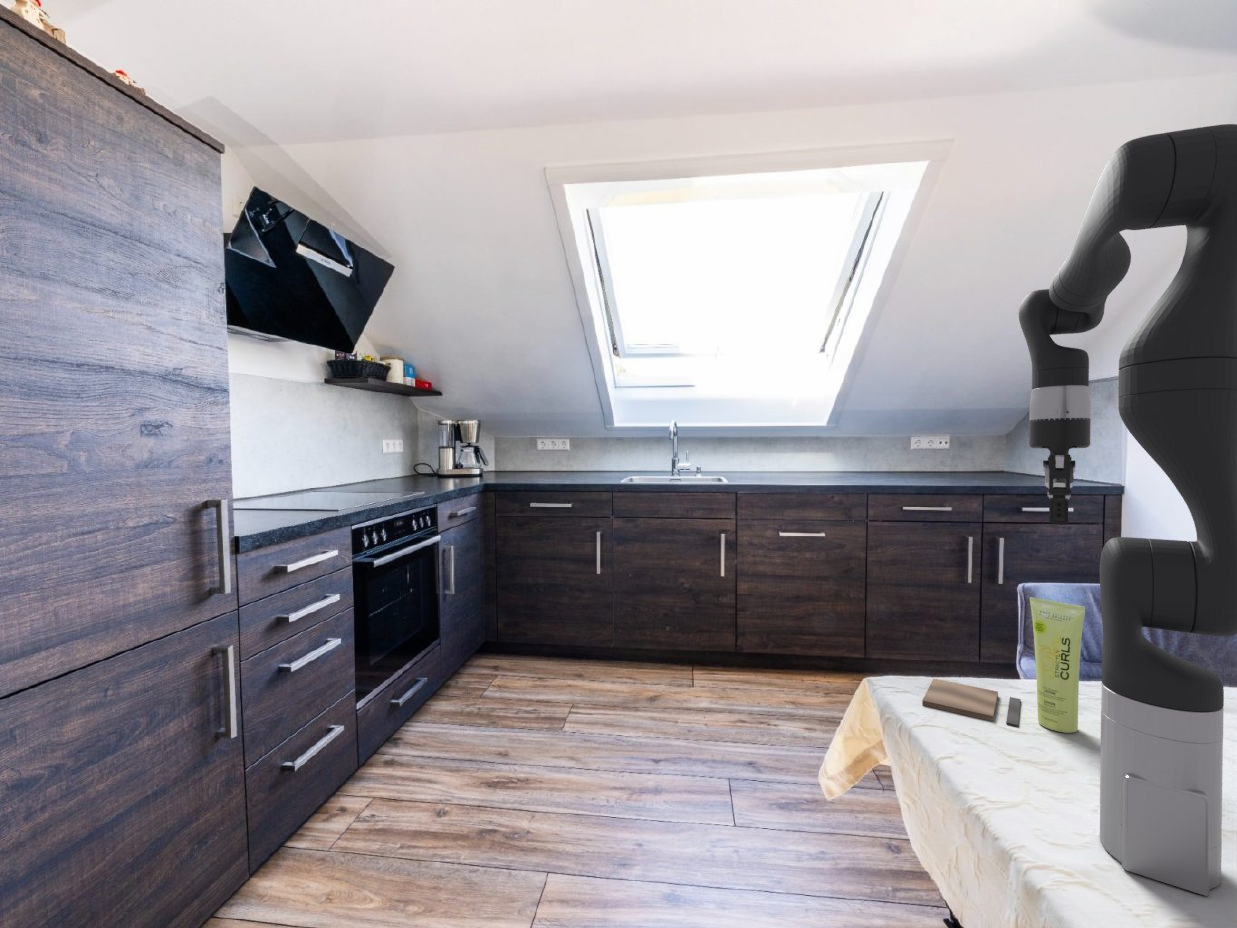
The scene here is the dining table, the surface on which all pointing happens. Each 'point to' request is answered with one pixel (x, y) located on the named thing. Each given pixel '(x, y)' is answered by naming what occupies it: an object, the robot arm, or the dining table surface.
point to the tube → (1057, 662)
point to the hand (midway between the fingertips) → (1058, 522)
